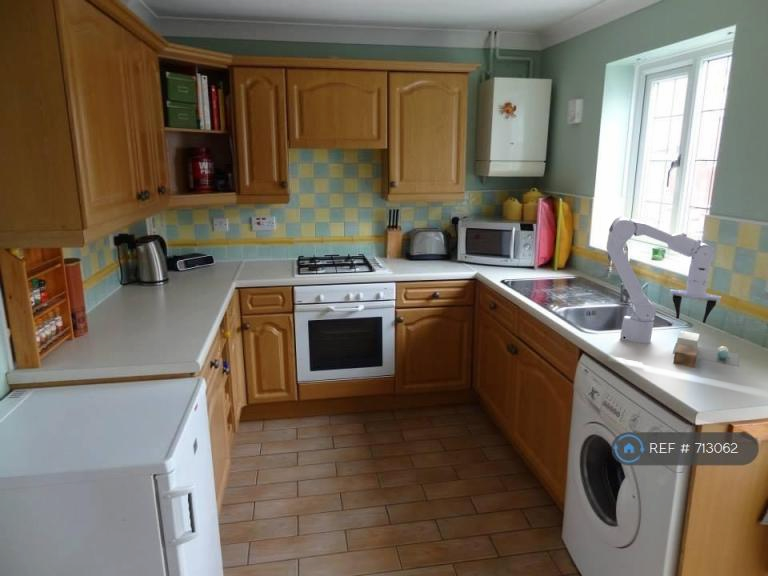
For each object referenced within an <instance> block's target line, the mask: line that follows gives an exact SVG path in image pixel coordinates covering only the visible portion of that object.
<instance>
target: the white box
mask: <svg viewBox="0 0 768 576" xmlns="http://www.w3.org/2000/svg"><path fill="white" fill-rule="evenodd" d="M699 338H700V333H698V332H697V333H696V332H691V331H685V330H680V331H679V333H678V336H677V340H676V343H677V345H678V344H682V345H687V346H693V347H699V346H698V345H699V340H700V339H699ZM677 345H676V348H677Z"/></svg>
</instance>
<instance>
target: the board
mask: <svg viewBox="0 0 768 576" xmlns="http://www.w3.org/2000/svg"><path fill="white" fill-rule="evenodd" d="M676 345H677V342H676V343H675V345H674V347H673V350H672V354H673V355H675V351H676ZM697 347H698V352H697V358H696V359H700V360H705V361H709V362H715V363H719V364H724V365H730V366H733V367H740V354H739V353H733V352H729V353H728V357H727V358H726V359H720V358H719V357H718V356H717V352H718V349H717V350H715V349H712V348H711V349H710V348H705V347H701V346H697Z"/></svg>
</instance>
